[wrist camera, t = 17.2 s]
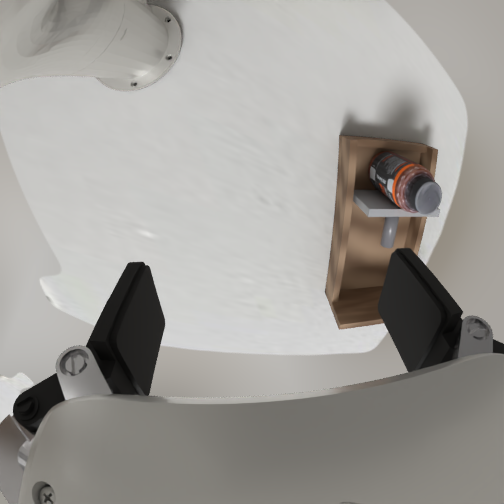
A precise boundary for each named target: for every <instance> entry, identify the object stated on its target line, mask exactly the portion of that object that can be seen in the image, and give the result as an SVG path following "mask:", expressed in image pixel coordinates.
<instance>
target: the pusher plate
mask: <svg viewBox="0 0 504 504" xmlns="http://www.w3.org/2000/svg"><path fill="white" fill-rule="evenodd" d="M353 202H354V203H355V204H356V205H357V206H358V207H359V208H360V209H361V210H362V211H363V212H364V213H365V214H366V215H367V216H368V217H385V221H384V227H383V232H382V237H381V242H380V244H381V246H383V247H385V248H392V247H393V245H394V241H395V236H396V231H397V226H398V221H399V217H439V213H440V209H438V208H437V209H436V210H435V211H434V212H433V213H431V214H429V215H423V214H420V213H419V212H417V213H409V212H406V211H404V210H403V209H401V208H400V207H399V206H397V205H396V204H395V203H394V202H393V201H391V200H390V199H389V198H388V197H386V196H385V195H384V194H383V193H381V192H380V191H379V190H354V195H353Z"/></svg>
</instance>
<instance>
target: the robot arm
mask: <svg viewBox="0 0 504 504" xmlns="http://www.w3.org/2000/svg"><path fill="white" fill-rule="evenodd" d="M168 20H171V21H170V22H168ZM181 43H182V34H181V29H180V26H179V24H178V22H177V20H176V19H175V18H174V16H173V15H172V14H171V13H170V12H168V11H167V10H165V9H164V8H162V7H159V6H156V5H149V4H147V0H0V88H1V87H4V86H6V85H8V84H11V83H14V82H16V81H20V80H24V79H29V78H35V77H51V76H77V77H96V78H97V79H98V80H99V81H100V82H101V83H102V84H103V85H105V86H106V87H108V88H111V89H114V90H119V91H133V90H139V89H142V88H145V87H147V86H149V85H151V84H153V83H155V82H156V81H158V80H159V79H160V78H162V77H163V76H164V75H165V74H166V73H167V72H168V71H169V70H170V68H171V67H172V66H173V64H174V63H175V61H176V59H177V57H178V55H179V52H180V49H181ZM170 56H172V59H171V60H169V57H170ZM135 83H137V86H135ZM378 312H379V314H380V316H381V318H382V320H383V322H384V324H385V326H386V328H387V330H388V331H389V333H390V335H391V337H392V339H393V341H394V343H395V345H396V348H397V349H398V352H399V354H400V356H401V358H402V360H403V362H404V364H405V366H406V368H407V371H408V373H405V374H400V375H396V376H393V377H388V378H383V379H379V380H374V381H370V382H365V383H359V384H354V385H348V386H343V387H337V388H330V389H324V390H316V391H308V392H300V393H291V394H280V395H268V396H251V397H228V398H226V397H224V398H194V397H193V398H192V397H161V396H159V397H158V396H148V395H149V393H150V388H151V383H152V379H153V374H154V370H155V365H156V361H157V357H158V352H159V348H160V344H161V340H162V336H163V332H164V328H165V319H164V315H163V312H162V309H161V305H160V302H159V299H158V295H157V292H156V288H155V285H154V281H153V277H152V274H151V270H150V267H149V266H148V265H147V266H145V264H144V262H130V263H128V264H127V266H126V268H125V270H124V272H123V273H122V275H121V277H120V279H119V281H118V283H117V285H116V286H115V288H114V290H113V292H112V294H111V296H110V298H109V299H108V301H107V303H106V305H105V307H104V309H103V311H102V313H101V315H100V317H99V319H98V321H97V323H96V325H95V327H94V330H93V332H92V334H91V336H90V338H89V340H88V343H87V345H86V347H85V346H80V345H79V346H73V347H70V348H68V349H66V350H65V351H64V352H63V353H62V354H61V355H60V356H59V358H58V359H57V362H56V372H57V373H55V374H54V375H52V376H50V377H49V378H47V379H45V380H43V381H42V382H40V383H39V384H37V385H35V386H33V387H32V388H30V389H28V390H26V391H25V392H23V393H22V394H21V395H19V396H18V398H17V399H16V401H15V403H14V406H13V416H10V415H8V416H7V417H6V418H5V419H4V420H3V421H2V422H1V423H0V491H1V492H2V494H3V495H4V497H5V498H6V500H7V501H8V503H9V504H504V344H503V343H500V342H498V341H496V340H494V339H493V333H492V329H491V327H490V325H489V324H488V323H487V322H486V321H485V320H483V319H482V318H480V317H477V316H467V317H465V318H464V319H463V320H462V319H461V315H462V313H463V311H462V310H461V308H460V307H459V306H458V305H457V303H456V302H455V300H454V299H453V298H452V297H451V295H450V294H449V293H448V292H447V290H446V289H445V288H444V287H443V285H442V284H441V283H440V282H439V281H438V279H437V278H436V277H435V276H434V275H433V273H432V272H431V271H430V270H429V269H428V268H427V266H426V265H425V264H424V263H423V262H422V261H421V259H420V258H419V257H418V256H417V255H416V254H415V253H414V252H413V251H412V249H410V248H397V249H396V250H395V251H394V252H393V253H392V254H391V257H390V261H389V265H388V269H387V273H386V277H385V281H384V284H383V288H382V292H381V295H380V298H379V302H378Z"/></svg>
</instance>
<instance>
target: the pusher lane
mask: <svg viewBox="0 0 504 504" xmlns="http://www.w3.org/2000/svg"><path fill="white" fill-rule="evenodd" d="M383 151H390V152H394V153H396V154H398V155H401V156H403V157H405V158H407V159H409V160H411V161H413V162H415V163H417V164H419V165H421V166H423V167H425V168H426V169H428V170H429V171H430V172H431V174H432V176H433V178H434V176H435V169H436V162H437V154H438V150H437V149H435V148H432V147H430V146H427V145H425V144H421V143H414V142H407V141H399V140H391V139H382V138H371V137H359V136H345V135H339V159H338V176H337V190H336V203H335V214H334V224H333V234H332V243H331V252H330V260H329V267H328V275H327V282H326V289H325V293H326V296H327V299H328V301H329V304H330V306H331V309H332V312H333V314H334V317H335V320H336V323H337V325H338V328H339V329H347V328H355V327H362V326H369V325H375V324H382V323H384V322H383V320H382V318H381V316H380V314H379V312H378V302H379V298H380V295H381V292H382V288H383V284H384V281H385V277H386V273H387V269H388V265H389V261H390V257H391V254H392V253H393V252H394V251H395V250H396V249H397V248H410V249H412V251H413V252H414V253H415V254H416V255H418V251H419V247H420V244H421V240H422V236H423V232H424V227H425V223H426V219H427V217H399V221H398V226H397V231H396V236H395V241H394V245H393V247H392V248H385V247H383V246H381V244H380V242H381V237H382V232H383V227H384V221H385V217H368V216H367V215H366V214H365V213H364V212H363V211H362V210H361V209H360V208H359V207H358V206H357V205H356V204H355V203H354V202H353V195H354V190H377V189H376V188H375V187H374V186H373V185H372V183H371V182H370V179H369V176H368V168H369V164H370V162H371V160H372V159H373V157H374V156H375V155H377V154H378V153H380V152H383Z"/></svg>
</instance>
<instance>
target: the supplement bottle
mask: <svg viewBox="0 0 504 504" xmlns="http://www.w3.org/2000/svg"><path fill="white" fill-rule="evenodd" d="M368 176H369V179H370V182H371V183H372V185H373V186H374V187H375V188H376V189H377V190H379V191H380V192H381V193H383V194H384V195H385V196H386V197H388V198H389V199H390V200H391V201H393V202H394V203H395V204H396V205H397V206H399V207H400V208H401V209H403V210H404V211H406V212H409V213H417V212H419V213H420V214H423V215H429V214H431V213H433V212H434V211H435V210H436V209H437V208H438V206H439V205H440V202H441V198H442V192H441V188H440V186H439V185H438V184H437V183H436V182H435V180H434V178H433V176H432V174H431V172H430V171H429V170H428V169H426V168H425V167H423V166H421V165H419V164H417V163H415V162H413V161H411V160H409V159H407V158H405V157H403V156H401V155H398V154H396V153H394V152H390V151H383V152H380V153H378V154H377V155H375V156H374V157H373V159H372V160H371V162H370V164H369V168H368Z"/></svg>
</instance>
